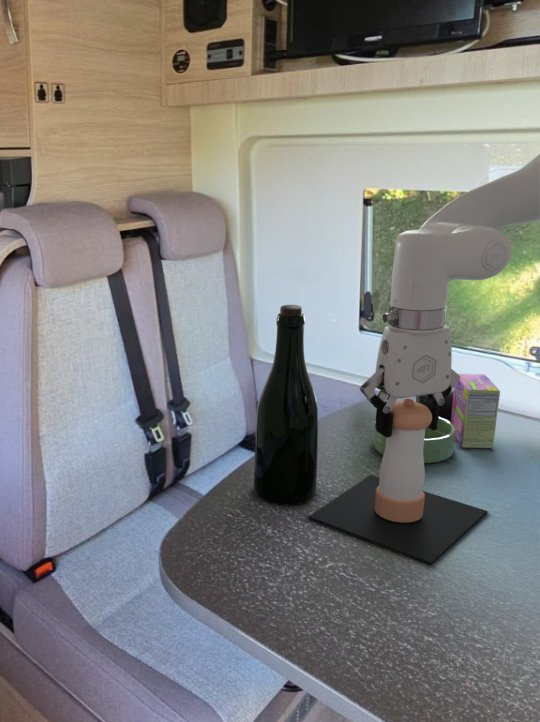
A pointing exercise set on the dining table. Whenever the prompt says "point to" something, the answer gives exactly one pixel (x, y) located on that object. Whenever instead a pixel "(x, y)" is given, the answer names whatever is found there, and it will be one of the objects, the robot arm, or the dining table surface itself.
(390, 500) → the pepper shaker
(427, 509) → the mat
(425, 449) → the bowl
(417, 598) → the dining table surface
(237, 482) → the dining table surface
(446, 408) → the end cap
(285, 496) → the dark green wine bottle
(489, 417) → the box
